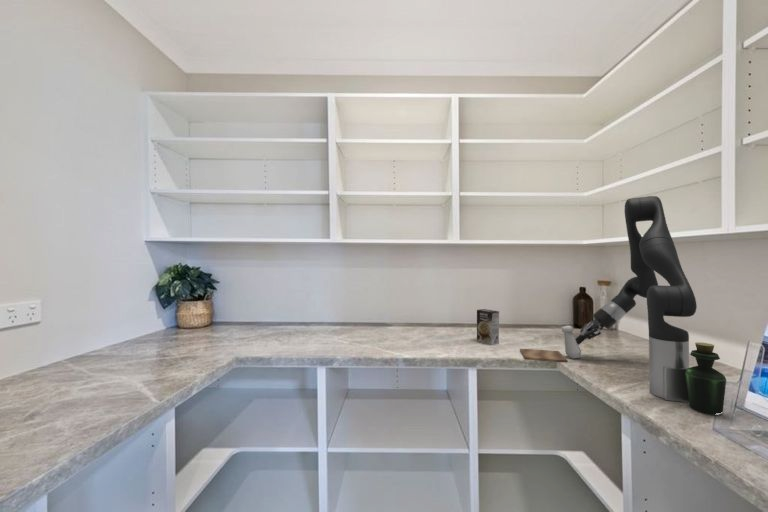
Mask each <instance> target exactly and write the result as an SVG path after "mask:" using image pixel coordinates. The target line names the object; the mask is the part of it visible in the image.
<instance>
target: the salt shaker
mask: <svg viewBox="0 0 768 512" xmlns="http://www.w3.org/2000/svg"><path fill="white" fill-rule="evenodd" d="M561 332H562V333H563V335H564V336H563V337H564V348H565V349H564V350H565V351H564V352H565V354H566V356H567V357H568V358H569V359H573V360H574V359H579V358H580V357H582V356H581V354H582V349H581V347H580V346H579V345H580V344H579V345H578V343H577V341H576V339H575V338H576V337H575V335H574V328H573V326H572V325H564V326H561Z"/></svg>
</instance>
